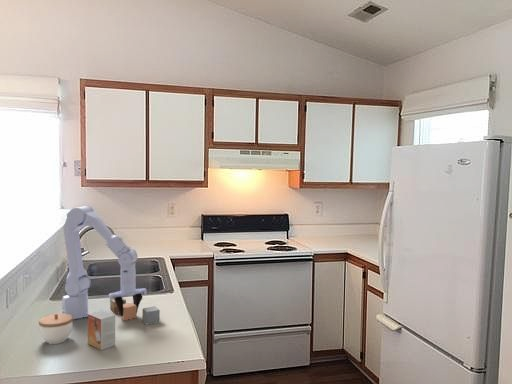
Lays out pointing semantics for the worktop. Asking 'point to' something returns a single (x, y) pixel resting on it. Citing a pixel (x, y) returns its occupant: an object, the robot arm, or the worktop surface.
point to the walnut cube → (115, 305)
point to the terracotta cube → (129, 311)
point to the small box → (101, 329)
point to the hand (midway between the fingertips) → (128, 314)
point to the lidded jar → (56, 327)
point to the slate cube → (151, 315)
